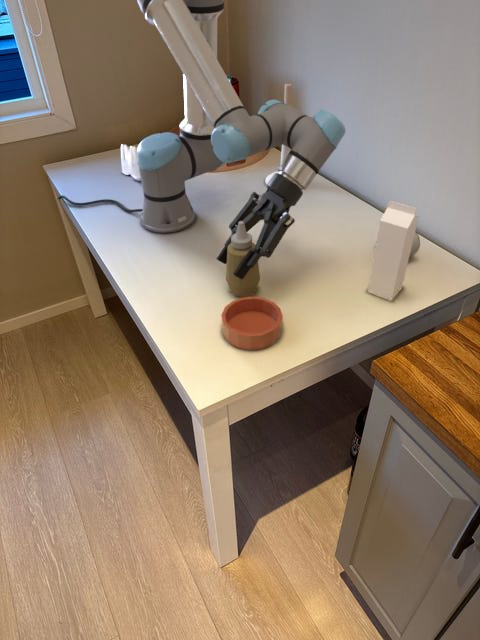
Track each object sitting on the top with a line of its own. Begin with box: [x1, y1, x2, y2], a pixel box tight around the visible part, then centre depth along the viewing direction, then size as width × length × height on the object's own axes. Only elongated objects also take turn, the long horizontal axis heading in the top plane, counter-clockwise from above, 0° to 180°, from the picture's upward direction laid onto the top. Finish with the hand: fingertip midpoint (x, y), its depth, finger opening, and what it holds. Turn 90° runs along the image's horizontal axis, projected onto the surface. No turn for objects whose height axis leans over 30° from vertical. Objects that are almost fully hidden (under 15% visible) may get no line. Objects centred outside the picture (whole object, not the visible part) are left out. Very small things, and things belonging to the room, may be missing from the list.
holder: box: [220, 295, 284, 351], centre depth 103 cm, size 13×13×4 cm
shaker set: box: [120, 143, 141, 182], centre depth 160 cm, size 12×4×11 cm, turn 39°
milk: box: [367, 200, 420, 302], centre depth 106 cm, size 6×6×22 cm
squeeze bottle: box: [225, 221, 261, 298], centre depth 109 cm, size 8×8×18 cm
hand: (229, 268), depth 108 cm, fingers closed on squeeze bottle, 6 cm apart
